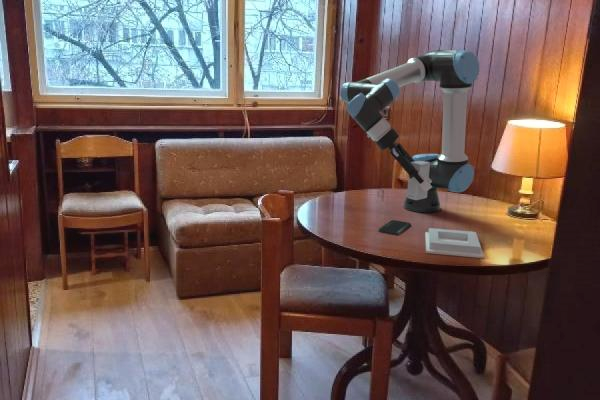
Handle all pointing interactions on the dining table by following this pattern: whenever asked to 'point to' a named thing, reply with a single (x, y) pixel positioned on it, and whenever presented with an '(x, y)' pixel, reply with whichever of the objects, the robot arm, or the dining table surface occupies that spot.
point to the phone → (394, 227)
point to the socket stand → (453, 243)
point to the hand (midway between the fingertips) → (428, 186)
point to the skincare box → (413, 187)
